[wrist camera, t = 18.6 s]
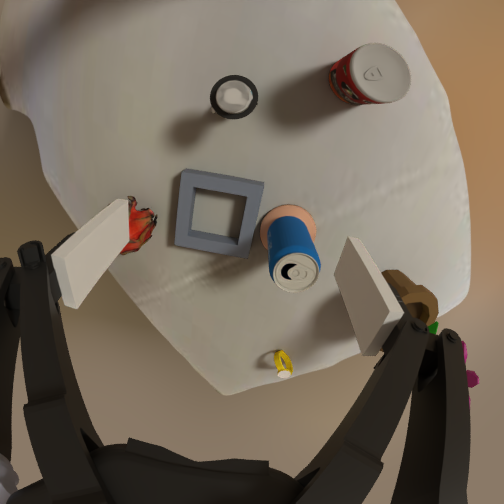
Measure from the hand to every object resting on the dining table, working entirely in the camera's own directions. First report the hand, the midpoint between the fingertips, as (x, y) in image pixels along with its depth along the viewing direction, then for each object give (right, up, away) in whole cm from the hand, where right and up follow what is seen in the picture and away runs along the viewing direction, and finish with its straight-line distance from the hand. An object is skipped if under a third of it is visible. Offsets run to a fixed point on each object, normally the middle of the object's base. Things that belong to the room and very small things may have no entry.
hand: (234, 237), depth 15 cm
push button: (-1, +20, +19) cm, 28 cm away
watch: (+8, -24, +42) cm, 49 cm away
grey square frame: (-4, +6, +27) cm, 28 cm away
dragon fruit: (-19, +5, +28) cm, 34 cm away
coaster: (+7, +3, +28) cm, 29 cm away
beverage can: (+7, +2, +28) cm, 29 cm away
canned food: (+16, +24, +17) cm, 34 cm away
